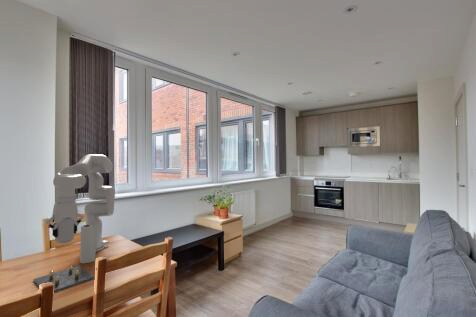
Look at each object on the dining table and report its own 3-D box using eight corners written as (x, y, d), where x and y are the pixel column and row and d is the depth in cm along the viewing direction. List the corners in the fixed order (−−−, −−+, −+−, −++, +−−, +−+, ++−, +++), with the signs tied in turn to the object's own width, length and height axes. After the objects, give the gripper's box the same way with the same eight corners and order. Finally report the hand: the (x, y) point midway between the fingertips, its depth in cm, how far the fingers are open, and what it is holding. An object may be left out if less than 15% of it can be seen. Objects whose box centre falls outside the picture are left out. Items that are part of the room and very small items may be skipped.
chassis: (78, 267, 139) (78, 259, 139) (93, 278, 126) (94, 270, 126) (33, 281, 123) (33, 272, 123) (46, 295, 111) (46, 285, 111)
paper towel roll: (77, 262, 145) (78, 226, 145) (87, 258, 151) (88, 223, 151) (85, 264, 142) (86, 227, 142) (95, 261, 148) (96, 225, 148)
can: (77, 240, 127) (77, 216, 127) (62, 244, 120) (63, 219, 120) (66, 238, 129) (67, 215, 129) (52, 242, 122) (52, 218, 122)
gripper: (82, 197, 134) (81, 229, 134) (42, 201, 120) (41, 237, 120) (87, 198, 129) (87, 232, 129) (47, 203, 115) (46, 240, 115)
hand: (65, 234), depth 125 cm, fingers closed on can, 7 cm apart
